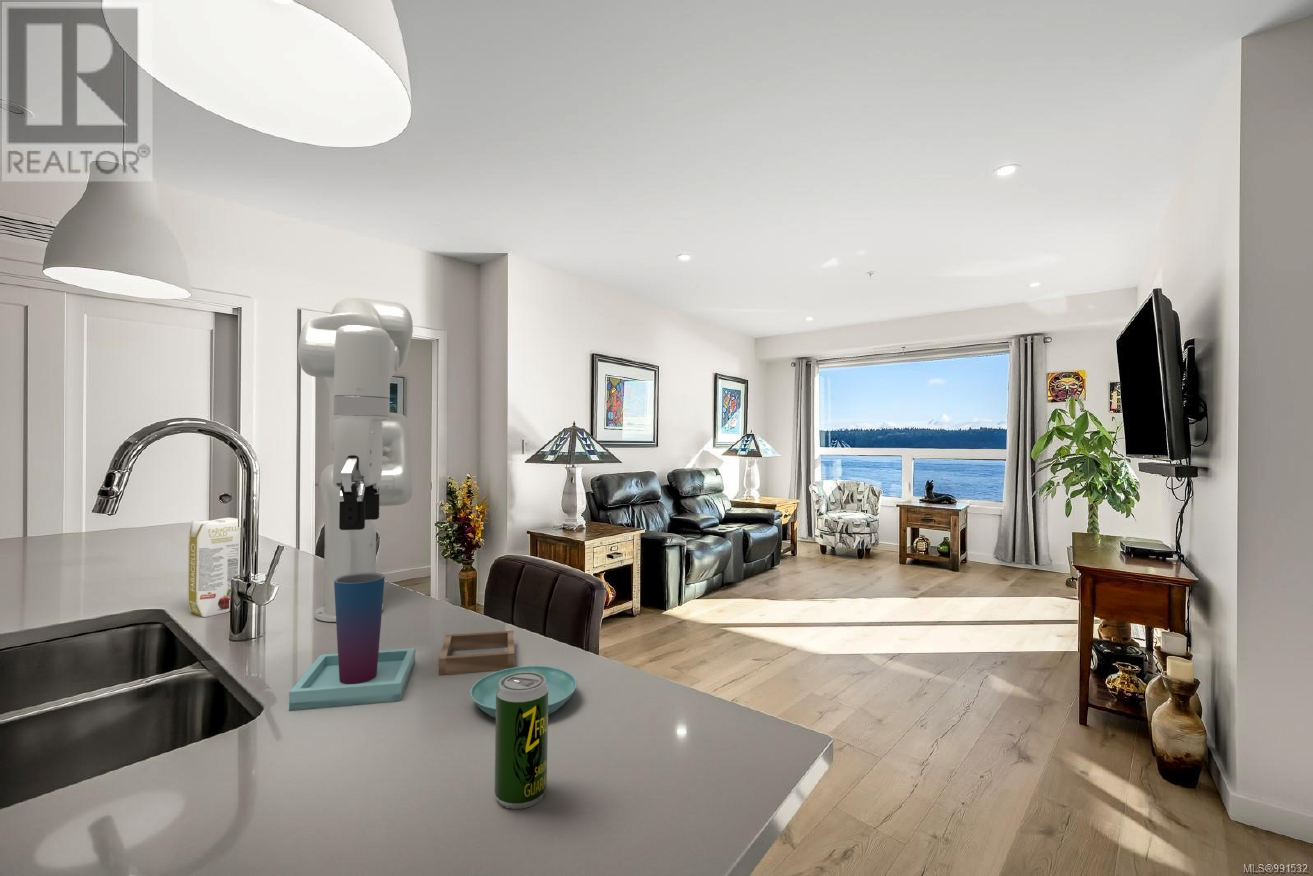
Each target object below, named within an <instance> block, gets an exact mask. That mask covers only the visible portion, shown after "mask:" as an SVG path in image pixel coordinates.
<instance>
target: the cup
mask: <svg viewBox="0 0 1313 876" xmlns="http://www.w3.org/2000/svg"><path fill="white" fill-rule="evenodd" d="M385 576H386V575H385V574H384V573H380V572H376V573H372V572H366V573H354V574H347V575H343V576H339V577H337V578H335V579H334V590H335V609H336V622H335V623H336V626H335V627H336V641H337V643H336V644H337V653H338V663H339V681H340V682H341V683H344V684H359V683H364V682H367V681H370V680H372V679H374V678H375V677H376V675H377V666H378V653H379V651H380V639H381V627H382V626H381V625H382V615H383V610H382V604H384V602H383V601H384V589H385V588H384V587H385V579H386V578H385Z"/></svg>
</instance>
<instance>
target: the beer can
mask: <svg viewBox="0 0 1313 876" xmlns="http://www.w3.org/2000/svg"><path fill="white" fill-rule="evenodd" d="M498 686H499V688H498V690H497V692H496V718H495V728H494V729H495V730H494V731H495V735H494V736H495V738H494V740H495V741H494V747H495V748H494V795H495V797H496V800H497V801H498V803H499V804H500V806H502V807H504V806H505V807H504V808H506V807H508V808H507V809H510V808H511V810H522V808H523V809H526V808H530V807H533V806H535V805H536V804H538V803H539V802H540V801H541V800H542V799H543V797H544V795H545V793H546V791H547V786H548V784H547V783H548V747H549V746H548V740H549V739H548V737H549V736H548V735H549V732H548V730H549V728H548V726H549V715H548V687H547V685H546V678H545V676H543V675H542V674H539V673H534V672H519V673H513V674H510V675H507V676H505V677H503V678H502V679H501V680H500V681H499V683H498ZM518 808H519V809H518Z"/></svg>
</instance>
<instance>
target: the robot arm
mask: <svg viewBox="0 0 1313 876" xmlns="http://www.w3.org/2000/svg"><path fill="white" fill-rule="evenodd" d="M413 327H414V326H413V318H412V315H411V311H410V310H409V309H408V307H406V306H405V305H404V304H402V303H399V302H397V301H386V300H380V299H371V298H360V297H348V298H345V299H341V300H340V301H338V302H337V303H336V304H335V305H334V306H333V307H332V310H331V313H330V314H329V315H323V316H317V317H313V318H311V319H308V320H307V321H306V322H305V323H304V325H303V326H302V328H301V331H300V333H299V339H298V344H297V345H298V346H297V356H298V357H297V358H298V362H299V366H300V368H301V370H302V371H303V372H304V373H305V374H307V375H308V376H311V377H313V378H314V377H315V378H324V381H325V383H326V386H327V389H328V395H329V407H328V409H329V410H328V411H329V416H328V423H329V424H328V427H329V428H328V437H329V444H330V448H331V449H332V451H333V463H330V464H328V465H327V466H326V467H325V468H324V469H323V470H322V472H321V475H320V481H319V482H320V492H321V498H322V505H323V515H324V555H323V556H324V559H323V561H324V566H323V567H324V568H323V605H322V606H320V607H318V608H317V609H315V611H314V619H316V620H318V621H322V622H327V623H328V622H329V623H336V609H335V590H334V579H335V578H337V577H339V576H343V575H347V574H354V573H366V572H372V573H377V572H376V570H377V569H376V567H377V529H376V525H375V523H374V520H379V518H380V507H384V506H385V507H386V506H387V507H388V506H389V507H390V506H401V505H405V504H407V503H409V502H410V501H411V499H412V497H413V494H414V457H413V433H412V431H413V430H412V425H411V423H410V421H409V419H408V418H407V416H405V415H404V414H401V413H398V412H390V410H391V408H390V405H391V404H390V401H391V400H390V398H391V394H390V393H391V388H390V386H391V378H392V377H393V376H394V375H395V373H396V372H397V371H399V369H401V368H403V367H404V366H405V364H406V362H407V359H408V356H409V351H410V347H411V342H412V337H413V334H414V333H413V331H414V330H413V329H414V328H413ZM383 457H386V458H387V459H388V460H383ZM383 610H384V603H382V611H383Z"/></svg>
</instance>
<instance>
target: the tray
mask: <svg viewBox="0 0 1313 876" xmlns="http://www.w3.org/2000/svg"><path fill="white" fill-rule="evenodd" d="M415 665H416V648H415V647H413V648H400V649H399V648H397V649H384V650H382V649H381V650H379V653H378V666H377V675H376V677H375V678H374V679H372V680H370V681H367V682H364V683H359V684H344V683H341V682H340V681H339V663H338V652H336V653H325V654H324V653H323V654H320V655H319V656H318V657H317V658H316V660H315V661H314V662H313V663H312V664H311V666H309V668H308V669H307V670H306V672H305V673H304V674H303V675H302V676H301V678H300V679H299V680H298V681H297V683H295V685H294V686H293V687H292V688H291V689H290V690H289V692H288V693H289V695H288V711H290V712H291V711H298V710H300V711H301V710H311V709H323V708H334V707H343V706H354V705H355V706H358V705H368V704H381V703H391V702H400V701H401V699H402V697H403V695H404V692H405V689H406V688H407V686H408V682H409V679H410V677H411V675H412V672H413V670H414V668H415Z"/></svg>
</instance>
